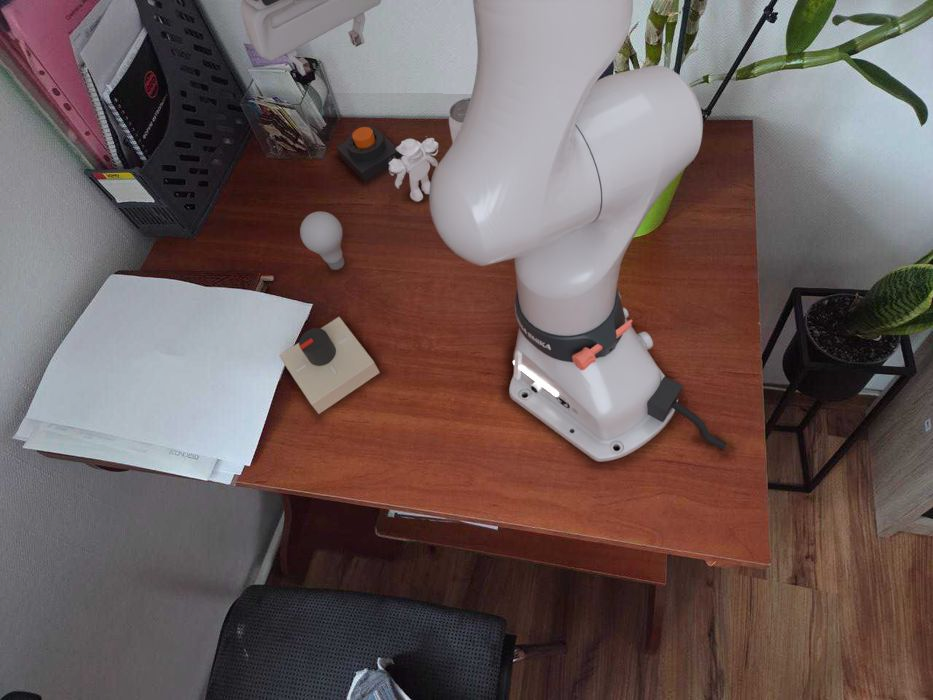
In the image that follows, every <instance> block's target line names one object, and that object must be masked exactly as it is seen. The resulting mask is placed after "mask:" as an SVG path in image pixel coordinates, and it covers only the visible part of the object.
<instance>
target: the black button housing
mask: <svg viewBox="0 0 933 700" xmlns="http://www.w3.org/2000/svg"><path fill="white" fill-rule="evenodd" d="M368 127H369V126H368ZM369 128H371V129H372V131H373V134H374V137H375V143H374V144H373V145H371V146H370V147H368V148H363V149H361V148H357V147H356V145H355V143H354V140H353V137H352V134H353V132H352V133H351V134H350V135H349V136H348V138H347V139H346V141H344V142H343V143H340V144H339V145H337V146H336V150H337V154H338V156H339V157H340V159H341V160H342V161H343V162H344V164H346V165H347V166H348V167H349V168H350V169H351V170H352V171H353V172H354V173H355V174H356V175H357V176H358V177H359V179H361V180H362V181H363V183H365V182H367V181H369V180H370V179H372V178H373V177H376V176H377V175H379V174H380V173H382V172H384V171H386V170H387V169H389V166H390V165H389V164H388V163H389V162H390V161H392V159H394V158H395V159H400V160H401V157H402V156H403V155H402V154H400V153H399V152H398V151H397V150H398V149H397V150H396V148H398V147H397V146H396V145H395V144H394V143H393V142H392V141H391V140H389V139H388V137H386V136H385V134H384V133H383V132H382V131H381V130H380V129H378V128H377V127H375V126H374V125H371V127H369ZM390 158H391V159H390Z"/></svg>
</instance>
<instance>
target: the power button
mask: <svg viewBox="0 0 933 700" xmlns="http://www.w3.org/2000/svg"><path fill="white" fill-rule="evenodd" d="M352 133H353V134H352ZM352 133H351V134H352V137H353V140H354V143H355V145H356V147H357V148H361V149H363V148H368V147H370V146H371V145H373V144H374V143H375V137H374V134H373V131H372V129H371V127H370V128H369V126H361V127H358V128H356V129H355V130H354V131H353V132H352Z"/></svg>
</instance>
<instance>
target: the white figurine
mask: <svg viewBox="0 0 933 700" xmlns="http://www.w3.org/2000/svg"><path fill="white" fill-rule="evenodd" d="M396 147H397V148H396V150H397V149H398V150H397V151H398V152H399V153H400V154H401V156H402V157H401V160H400V159H395V158H394V159H392V161H390V162H389V163H388V164H389V165H390V166H389V168H388V172H389V174H390V176H393V177H394V175H395V174H396V178H395V180H394V186H395V187H396V189H400V187H401V186H402V184H403V180H404V178H405V176H406V174H407V173H408V176H409V178H408V179H409V188H410V193H409V197H410V199H411V200H413V201H414V202H420V201H422V200H423V199H424V195H423V194H425V195H429V191H430V184H431V180H429V175H428V174H429V171H430V169H431V166H433V167H435V168H436V167H437V165H438V164H439V162H438V160H437V159H436V158H435V156H437V155H438V153H439V142H437V141H435V138H434V137H428V138H427V137H426V139H424V140H423V141H422V142H420V141H418V140H417V139H414V138H406V139H404V140H401V143H400V144H399V145H398V146H396ZM435 151H436V152H435ZM434 152H435V153H434ZM390 159H391V158H390ZM419 181H420V182H419ZM419 183H421V189H420V186H419ZM422 192H424V193H422Z"/></svg>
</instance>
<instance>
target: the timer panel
mask: <svg viewBox="0 0 933 700" xmlns="http://www.w3.org/2000/svg"><path fill="white" fill-rule="evenodd" d="M320 329H323V330H324V331H326V333H327V334H328V336H329V338H330V339H331V341H332V343H333V344H334V346H335V348H336V354H335V357H334V358H333V360H332V361H331V362H329V363H328V364H326V365H323V366H316V365H313V364H311V363H310V361H309V360H308V359H307V357H306V356H305V354H304V353H303V351H302V350H301V348H300V347H299V342H296V344H294V345H292V346H291V347H289V348H288V349H286V350H285V351H283V352H282V353H280V354H278V357H279V358H280V360H281V361H282V363H283V364H284V365H285V368H286V370H287V371H288V372H289V373H290V375H291V376H292V378H293V380H294V381H295V383H296V384H297V385H298V387H299V389H300V390H301V392H302V393H303V395H304V396H305V398H306V400H307V401H308V402H309V404H310V405H311V407H312V408H313V409H314V410H315V411H316V413H317V414H318V415H320V414H321V413H323V412H325V411H326V410H327V409H329V408H331V407H332V406H334V405H335V404H336V403H338V402H339V401H340V400H342V399H343V398H346V396H348V395H349V394H351V393H352V392H354V391H355V390H357V389H358V388H360V387H361V386H362V385H364V384H366V383H367V382H368V381H370V380H371V379H373V378H374V377H376V376H377V375H379V374H380V370H379V368H378V366H377V364H376V363H375V361H374V359H373V358H372V357H371V356H370V354H369V353H368V352H367V350H366V348H364V347H363V346H362V344H361V343H360V342H359V340H358V339H357V338H356V336H355V335H354V333H353V332H352V331H351V330H350V328H349V327H348V326H347V325H346V323H345V322H344V321H343V320H342V318H341V317H340V316H338V317H336V318H334V319H333V320H331V321H330V322H328V323H326V324H325V325H323V326H322V327H321V328H320Z"/></svg>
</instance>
